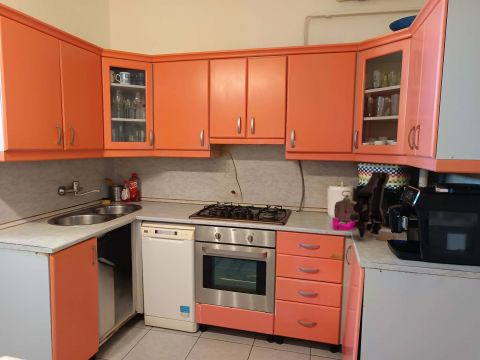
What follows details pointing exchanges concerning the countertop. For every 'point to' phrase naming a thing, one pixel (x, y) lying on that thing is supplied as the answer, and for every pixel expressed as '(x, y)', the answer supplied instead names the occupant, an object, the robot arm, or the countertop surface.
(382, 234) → the tower top
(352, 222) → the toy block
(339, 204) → the tabletop clock
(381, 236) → the tower base
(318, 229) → the countertop surface
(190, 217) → the countertop surface
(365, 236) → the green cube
